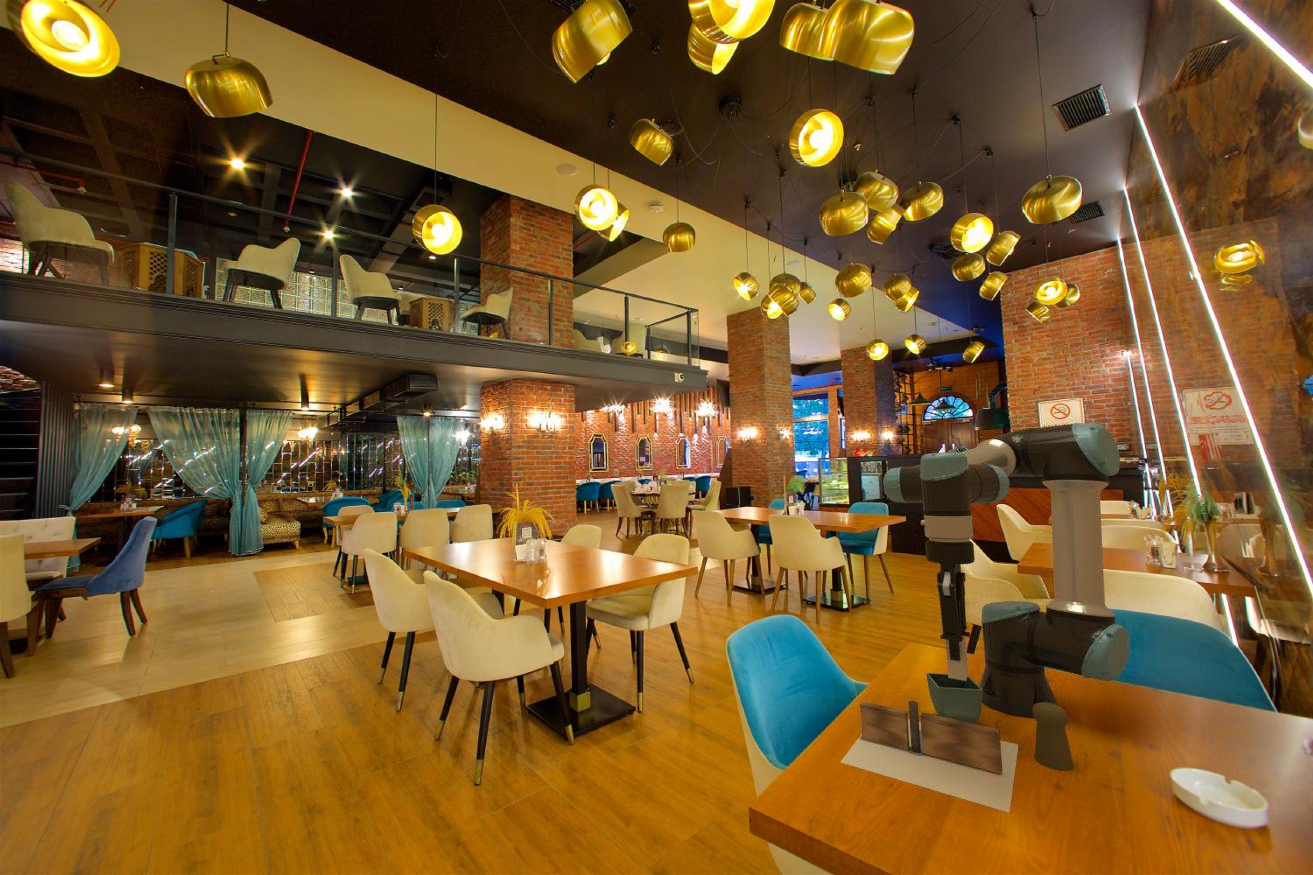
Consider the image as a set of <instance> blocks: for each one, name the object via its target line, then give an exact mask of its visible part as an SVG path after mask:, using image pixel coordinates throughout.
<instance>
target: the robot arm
mask: <svg viewBox="0 0 1313 875" xmlns="http://www.w3.org/2000/svg"><path fill="white" fill-rule="evenodd" d="M1117 445H1118V444H1117V443H1116V440H1115V438H1114V436H1113V435H1112V433H1111V432H1110V431H1109V430H1108V429H1107V427H1105V426H1103V425H1102V424H1099V423H1095V422H1090V423H1088V422H1087V423H1086V422H1085V423H1084V422H1083V423H1076V422H1074V423H1070V424H1062V425H1061V424H1060V425H1053V426H1051V425H1049V426H1042V427H1030V428H1021V429H1018V430H1015V431H1011V432H1007V433H1004V434H1001V435H998V436H995V437H992V438H990V439H986V440H982V441H981V442H980V443H978V445H976V446H975V447H974V448H971V449H968V450H967V449H966V450H963V451H960V452H959V451H958V452H952V451H951V452H932V453H925V454H924V455H922V456H921V457H920V464H916V465H913V466H900V467H893V468H890V469H888V471H887V472H886V473H885V474H884V476H883V482H882V484H883V490H884V494H885V495H886V498H888V499H889V500H891V501H892V502H894V503H895V502H896V503H904V504H909V503H910V504H913V503H914V504H915V503H917V504H920V503H921V504H923V505H922V506H923V507H922V508H923V518H924V519H922V520H920V525H921V526H924V536H925V537H926V538H928V539H927V540H926V541H925V545H924V546H925V557H926V560H927V561H928V562H931V563H934V564H936V563H937V564H939V565H940V570H939V572H937V574H936V580H937V585H936V587H937V591H938V596H939V604H940V605H939V606H940V615H941V624H942V625H941V626H942V634H941V635H940V636H939V637H940V640H945V649H946V650H945V651H946V664H947V674H948V678H953V679H958V680H964V681H966V680H967V677H968V676H969V667H968V665H969V664H968V650H967V641H966V640H967V637H968V638H970V637H971V632H970V631H967V629H968V626H967V619H966V618H967V614H966V613H967V612H966V597H965V596H966V586H965V583H966V578H967V577H966V572H962V567H961V565H970V564H973V563H974V562H975V560H976V559H975V548H974V542H972V541H971V540H970V539H972V538H974V529H973V515H972V511H971V510H972V508H971V505H980V504H981V505H984V504H985V505H990V504H993V503H998V502H1000V501H1002V500H1003V499H1004V498H1005V497H1006V496H1007V494H1008V493H1009V490H1010V479H1009V477H1027V478H1028V477H1031V478H1033V477H1036V478H1040V477H1041V480H1042V484H1043V485H1044V486H1045V487H1046V488H1047V489H1048V490H1049V491H1050V501H1051V502H1050V504H1051V505H1050V507H1051V511H1050V512H1051V533H1052V535H1051V536H1052V537H1051V538H1052V539H1051V540H1052V563H1053V564H1052V566H1053V570H1052V571H1053V590H1054V591H1053V596H1054V598H1053V599H1052V600H1051V601H1050V602H1049V603H1047V604H1046V606H1045V611H1046V612H1044V611H1041V607H1040V606H1039V603H1036V602H1031V601H1020V600H1019V601H1017V600H1013V601H1012V600H1010V601H1009V600H1008V601H996V602H995V601H994V602H989V603H986V604H984V606H982V608H981V622H980V623H981V627H982V628H981V629H982V638H983V639H982V640H983V641H982V642H983V651H984V652H983V653H984V662H985V663H984V668H983V672H982V675H981V679H980V682H979V686H980V687H981V688H982V689H983V692H982V704H984V705H985V706H988V707H989V708H992V709H994V710H997V711H1000V712H1003V713H1006V714H1009V715H1015V716H1019V717H1027V718H1034V715H1033V711H1032V710H1033V706H1034V705H1035V704H1036V703H1039V702H1047V703H1052V704H1055V705H1058V702H1057V698H1056V696H1055V693H1054V691H1053V690H1052V687H1051V685H1050V683H1049V680H1048V678H1047V676H1046V670H1045V668H1049V669H1054V670H1058V671H1061V672H1062V671H1063V672H1067V673H1070V674H1074V675H1078V676H1080V677H1083V678H1085V679H1090V678H1091V679H1094V680H1099V681H1103V682H1112V681H1114V680H1116V679H1118V678H1119V677H1120V676H1121V675H1122V674H1123V672H1124V671H1125V669H1126V666H1127V664H1128V661H1129V656H1130V650H1131V647H1130V646H1131V642H1130V637H1129V632H1128V631H1127V629H1126V628H1125V627H1124V626H1122V625H1120V624H1118V623H1116V614H1115V613H1114V612H1113V611H1112V610H1110V609H1109V608H1108V606H1106V601H1105V600H1106V598H1105V596H1106V595H1105V576H1104V572H1105V571H1104V556H1103V552H1104V550H1103V534H1102V530H1103V529H1102V510H1101V508H1102V507H1101V492H1102V490H1103V489H1105V488H1107V486H1109V484H1110V483H1109V477H1112V476H1115V475H1117V474H1118V473H1119V471H1120V467H1121V456H1120V452H1119V447H1118V446H1117Z"/></svg>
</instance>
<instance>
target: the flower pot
mask: <svg viewBox="0 0 1313 875" xmlns="http://www.w3.org/2000/svg"><path fill="white" fill-rule="evenodd" d="M925 675H926V681H927V686H928V693H929V697H930V700H931V703H932V705H933V707H934V709H935V711H936V713H937V716H941V717H946V718H951V719H955V720H960V721H964V722H969V723H973V724H978V721H979V720H980V717H981V715H982V707H983V702H982V692H983V689H982V688H981V687H980V686H979V685H980V684H979V685H978V683H977V682H975V681H974V680H973V679H972V678H971V676H969V675H968V677H967V680H966V681H964V680H958V679H953V678H948V673H934V672H927V673H926V674H925Z"/></svg>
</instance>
